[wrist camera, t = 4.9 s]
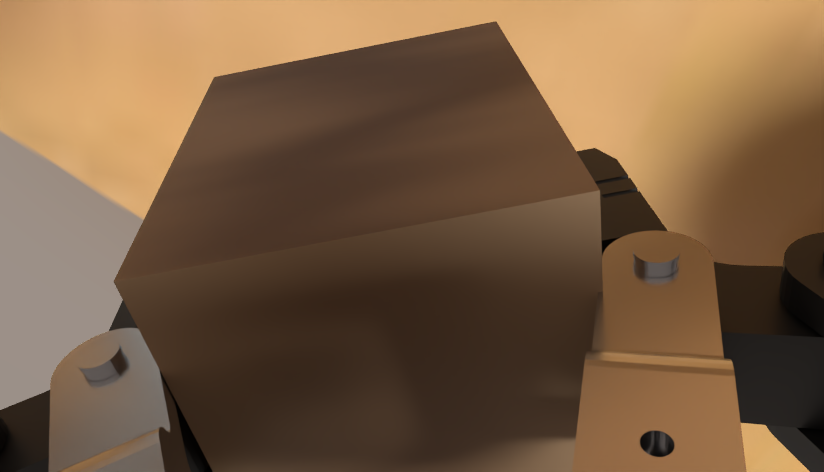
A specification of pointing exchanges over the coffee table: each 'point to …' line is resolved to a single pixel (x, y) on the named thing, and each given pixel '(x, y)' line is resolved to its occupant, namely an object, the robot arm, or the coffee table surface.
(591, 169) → the robot arm
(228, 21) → the coffee table surface
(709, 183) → the coffee table surface
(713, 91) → the coffee table surface
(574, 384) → the block
